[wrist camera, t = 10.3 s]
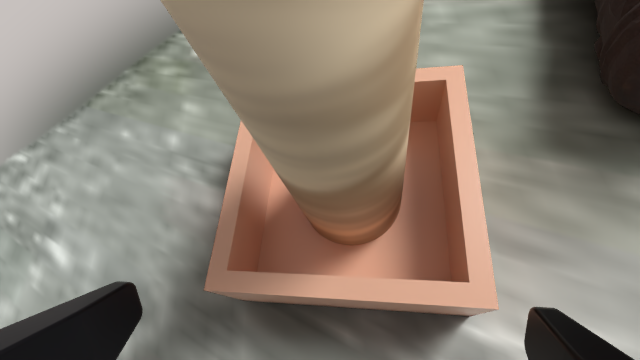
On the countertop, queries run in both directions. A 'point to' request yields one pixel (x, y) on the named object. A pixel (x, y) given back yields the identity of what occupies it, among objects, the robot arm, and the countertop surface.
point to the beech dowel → (319, 97)
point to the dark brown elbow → (620, 50)
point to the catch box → (382, 253)
